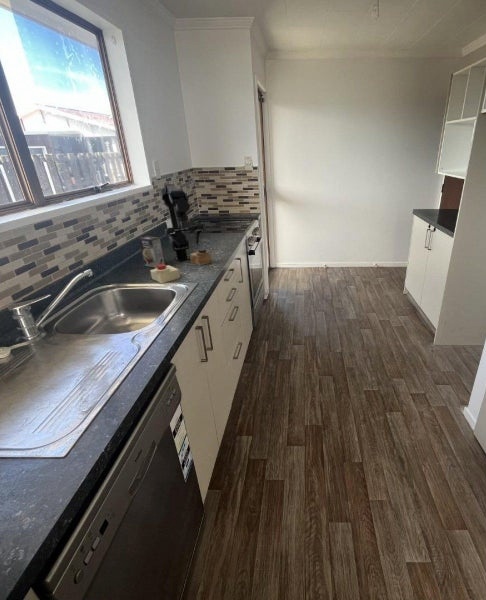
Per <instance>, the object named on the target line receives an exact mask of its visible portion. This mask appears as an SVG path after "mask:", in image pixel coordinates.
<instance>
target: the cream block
mask: <svg viewBox="0 0 486 600" xmlns="http://www.w3.org/2000/svg"><path fill="white" fill-rule="evenodd" d="M150 276H151V279H152V281H153V280H154V281H155V282H158V283H160V284H164V283H165V284H166V283H168V282H171V281H175V280H177V279H178V280H179V279H180V278H181V275H180V269H179V268H177V267H174V266H171V265H166V269H164V270H158V269H157V268H154V269H150Z"/></svg>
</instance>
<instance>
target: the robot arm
mask: <svg viewBox="0 0 486 600" xmlns="http://www.w3.org/2000/svg"><path fill="white" fill-rule="evenodd" d="M160 199H161V201H162V202H163V205H164V206H165V207H166V208H167V210H168V215H169V218H170V219H169V220H170V223H171V227H166V228H165V229H164V233H165V236H168V237H171V240H172V241H171V248H172V251H173V252H175V254H176V257H175V258H174V260H176V261H178V262H184V261H187V260H191V259H190V257H189V256H188V254H187V250H190V241H189V240H188V239H187V237H186V234H185V233H184V232H188V231H189V232H190V231H194V236H195V242H196V243H195V244H196V246H197V245H198V246H199V241H200V234H201V232H203V231H204V230H205V225H204V223H197V224H196V220H195V217H190V218H189V214H188V212H189V210H190V209H191V208H190V207H191V205H190V203H189V197H188V195H187V193H186V192H185V191H184V190H183V189H179V188H177V187H176V186H175V184H174V183H166V184H164V185H163V187H162V189H161V190H160Z"/></svg>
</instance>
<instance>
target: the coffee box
mask: <svg viewBox="0 0 486 600" xmlns="http://www.w3.org/2000/svg"><path fill="white" fill-rule="evenodd" d="M138 241H139V246H140V250H141V254H142V258H143V263H144V266H145V267H150V268H154V269H155V268H157V265H159V264H165V258H164V254H163V247H162V242H161V239H160V237H158V236H150V235H146V236H141V237H139V238H138Z"/></svg>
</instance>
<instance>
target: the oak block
mask: <svg viewBox="0 0 486 600" xmlns="http://www.w3.org/2000/svg"><path fill="white" fill-rule="evenodd" d="M189 258H190V259H189V260H190V263H191V264H194V265H196V266H199V267H201V266H204V265H207V264H210V263H212V254H211V253H210V250H207V249H206V252H205V253H199V250H197V251H196V252H192V253H189Z"/></svg>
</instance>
